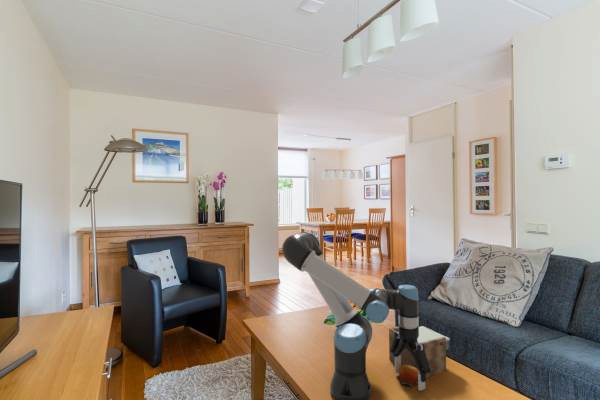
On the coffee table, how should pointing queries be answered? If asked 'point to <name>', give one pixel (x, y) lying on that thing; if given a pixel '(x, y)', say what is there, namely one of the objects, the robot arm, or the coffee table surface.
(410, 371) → the fruit
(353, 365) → the robot arm
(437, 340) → the brown wooden box
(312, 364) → the coffee table surface
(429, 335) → the trapdoor
